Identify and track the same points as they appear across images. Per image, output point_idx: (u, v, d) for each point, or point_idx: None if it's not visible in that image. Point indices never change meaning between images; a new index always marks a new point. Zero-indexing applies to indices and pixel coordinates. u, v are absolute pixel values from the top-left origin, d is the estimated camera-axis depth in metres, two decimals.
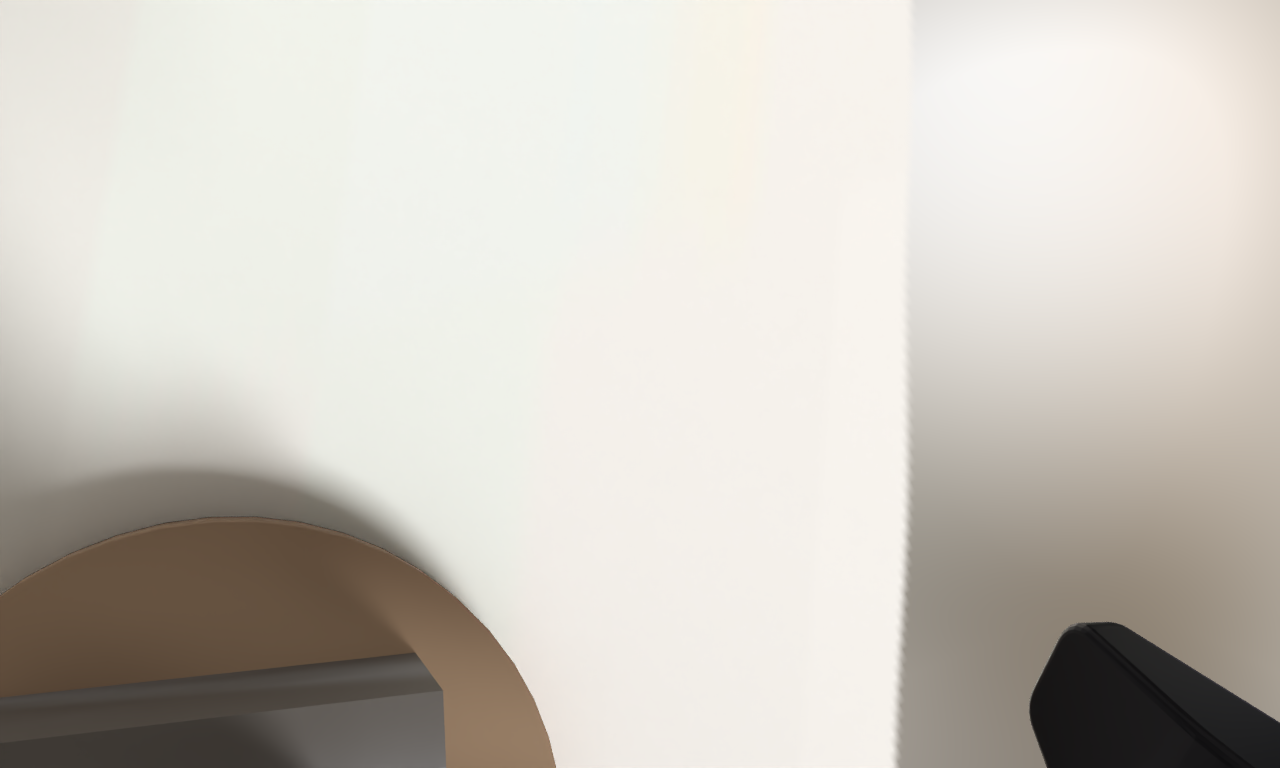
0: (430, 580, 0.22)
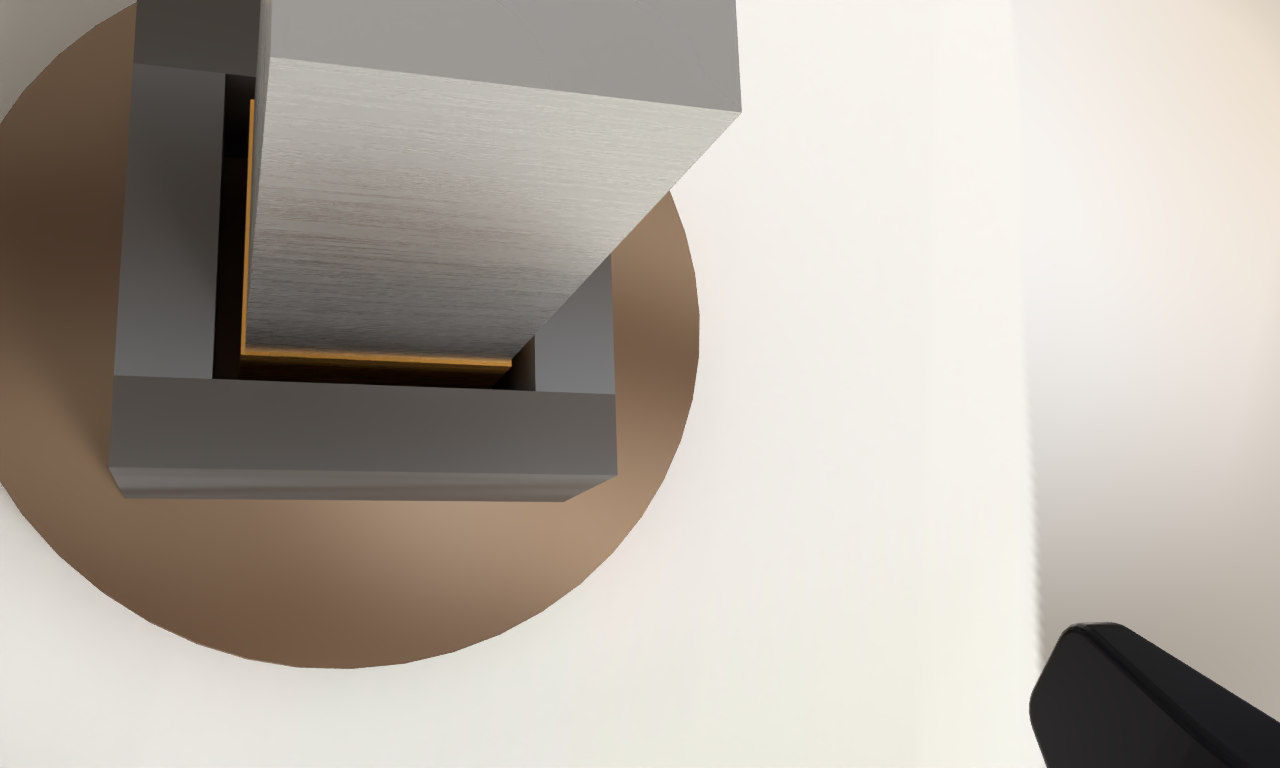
0: None
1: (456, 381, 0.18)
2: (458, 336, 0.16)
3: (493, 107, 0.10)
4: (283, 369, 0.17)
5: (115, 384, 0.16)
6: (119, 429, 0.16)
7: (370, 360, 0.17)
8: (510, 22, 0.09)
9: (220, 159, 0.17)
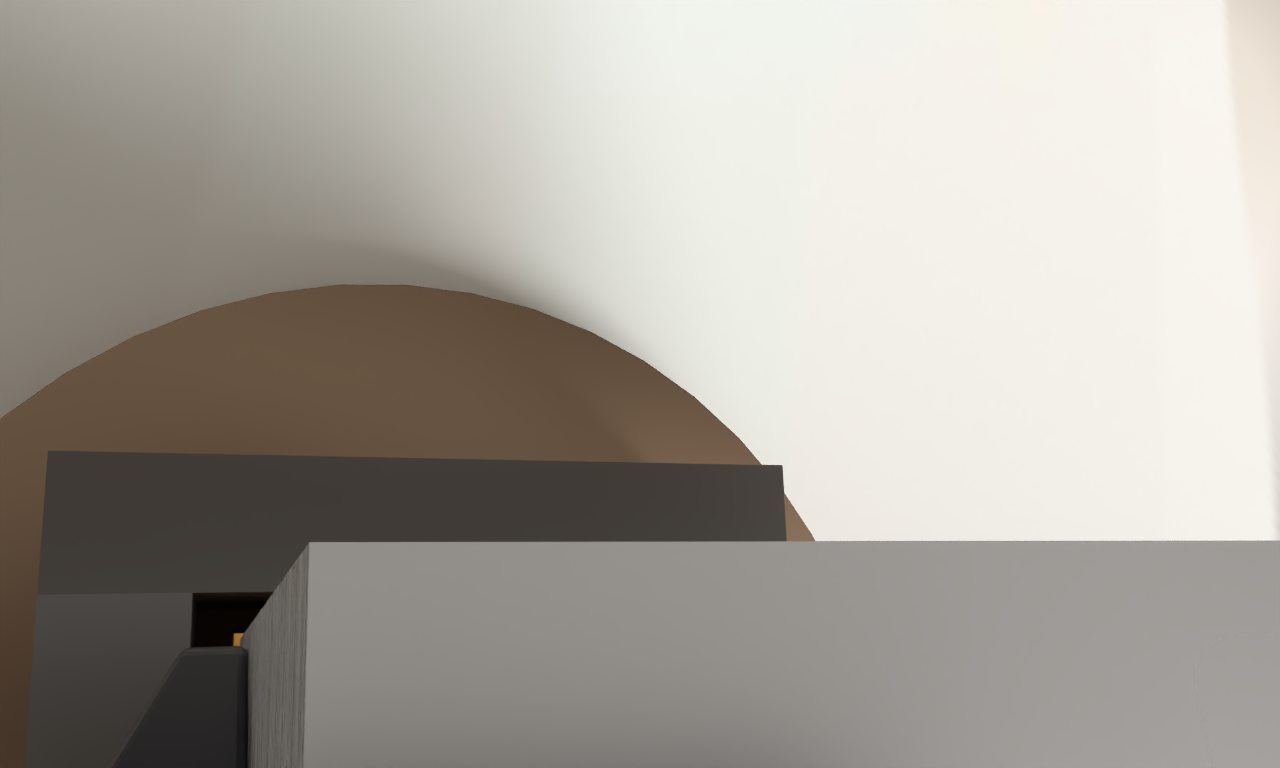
0: (699, 404, 0.16)
1: None
2: None
3: None
4: None
5: None
6: None
7: None
8: None
9: None
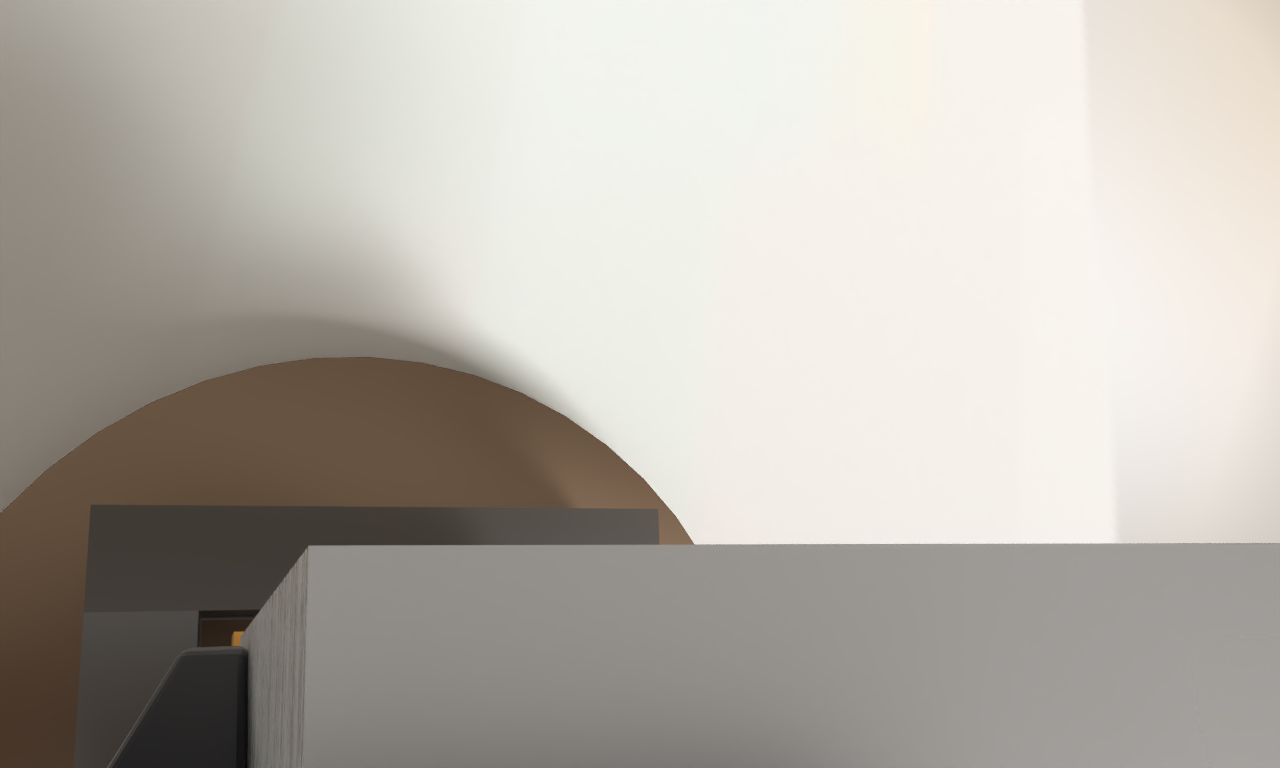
0: (610, 451, 0.19)
1: None
2: None
3: None
4: None
5: None
6: None
7: None
8: None
9: None
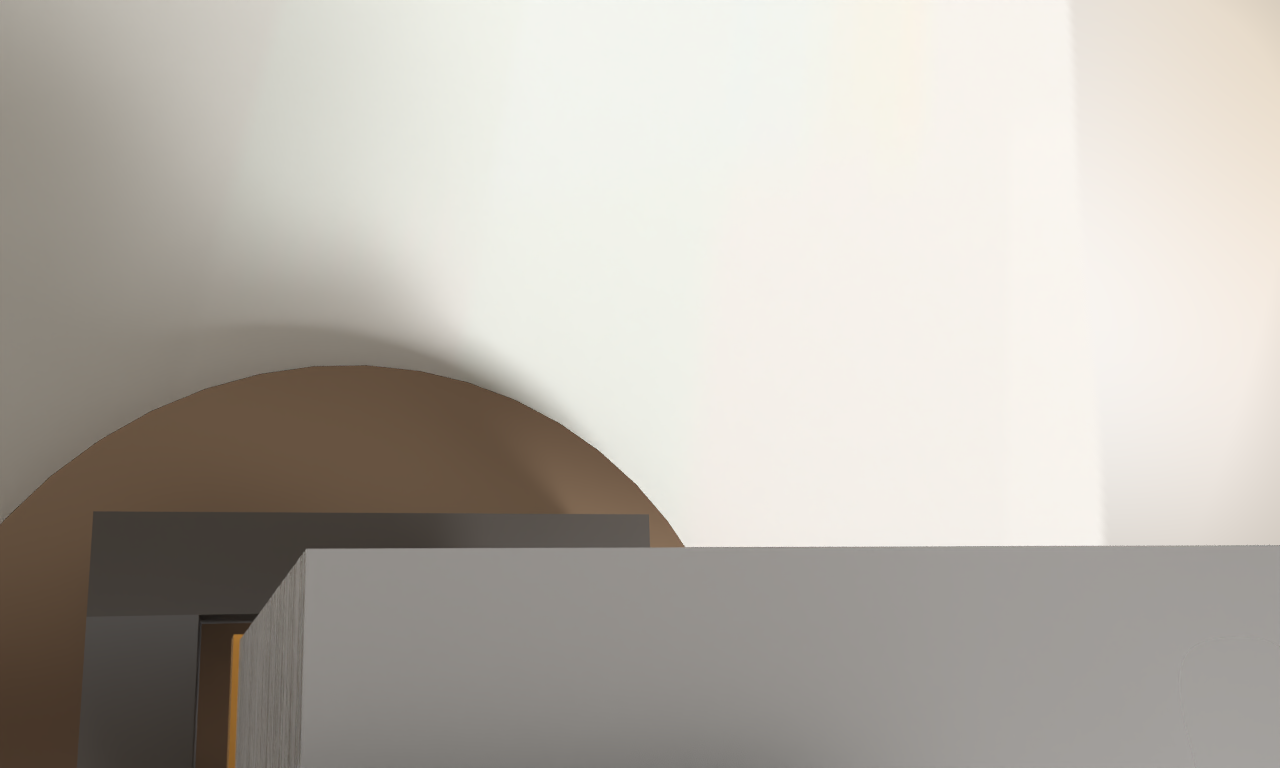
0: (603, 457, 0.20)
1: None
2: None
3: None
4: None
5: None
6: None
7: None
8: None
9: (192, 731, 0.14)
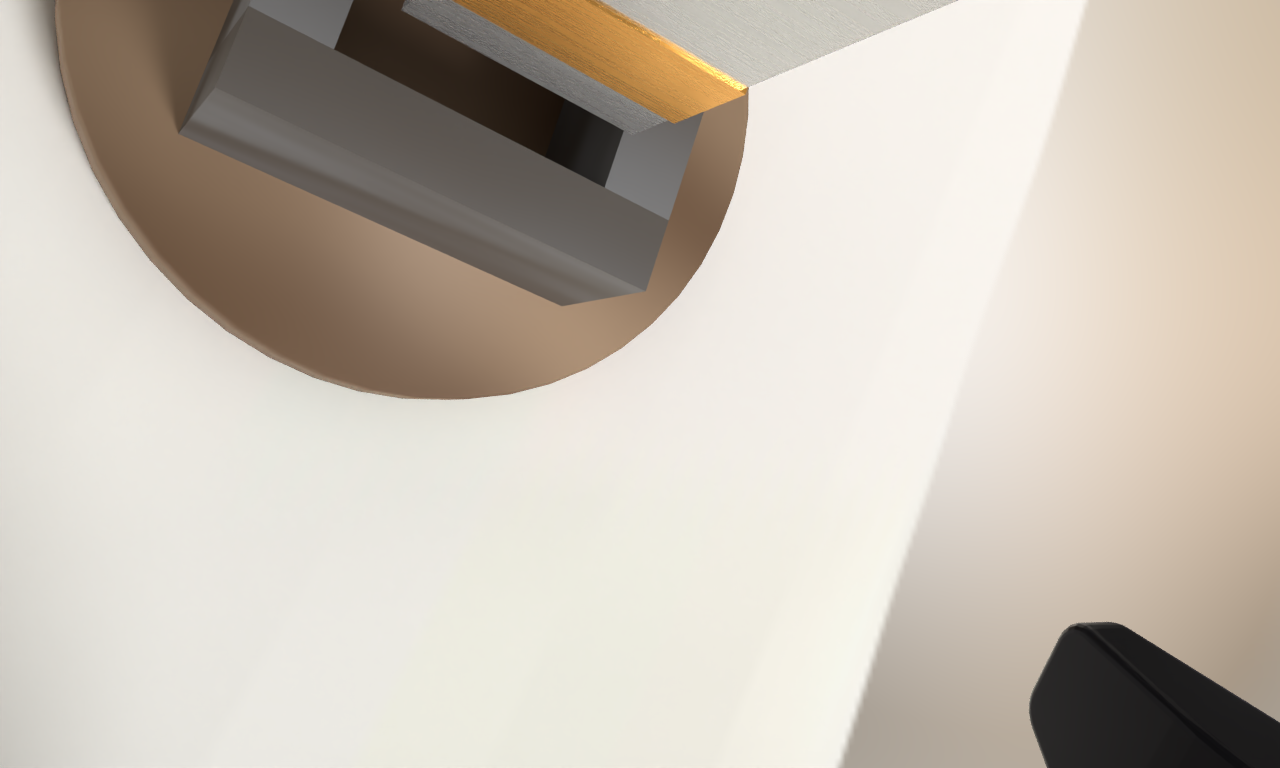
0: None
1: (661, 92, 0.16)
2: (742, 20, 0.13)
3: None
4: None
5: (246, 15, 0.16)
6: (236, 57, 0.16)
7: (607, 16, 0.14)
8: None
9: None
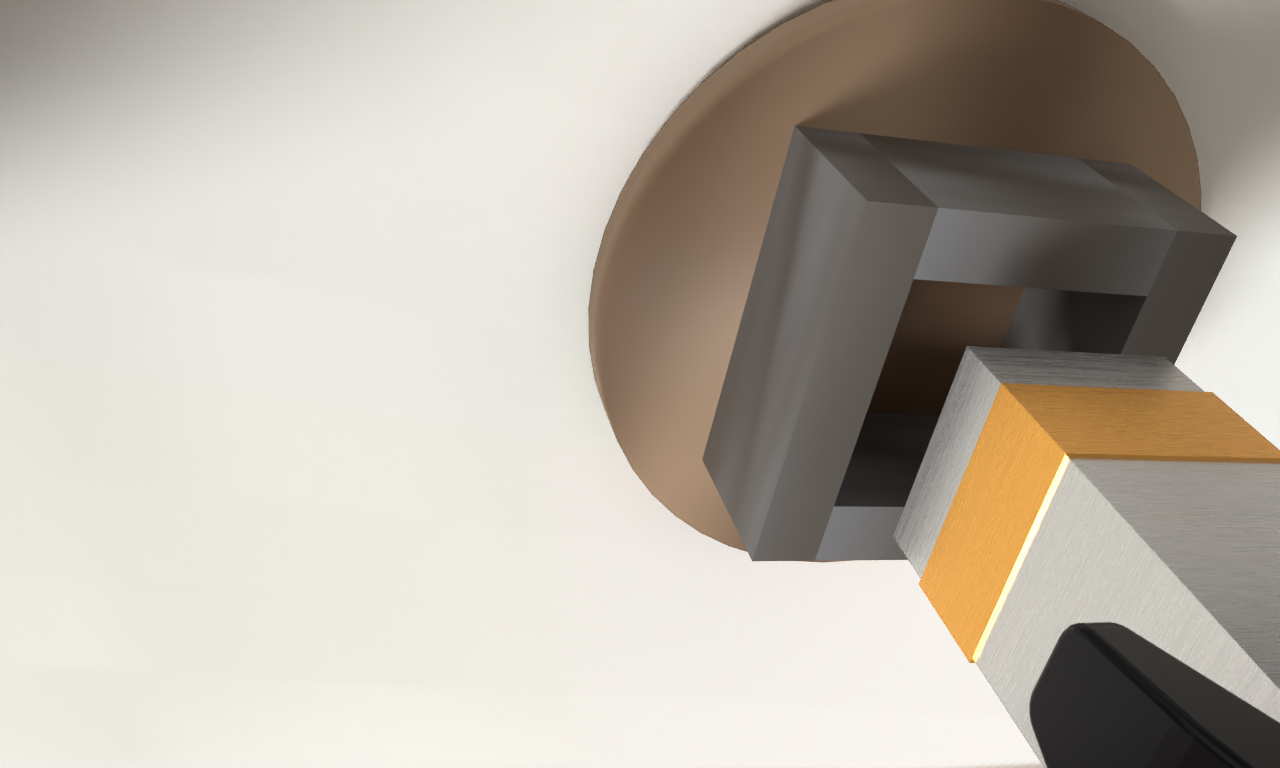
0: None
1: (949, 581, 0.18)
2: None
3: None
4: (1020, 456, 0.17)
5: (930, 207, 0.18)
6: (894, 210, 0.18)
7: (1016, 554, 0.17)
8: None
9: (1082, 291, 0.20)
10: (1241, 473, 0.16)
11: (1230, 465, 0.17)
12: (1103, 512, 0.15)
